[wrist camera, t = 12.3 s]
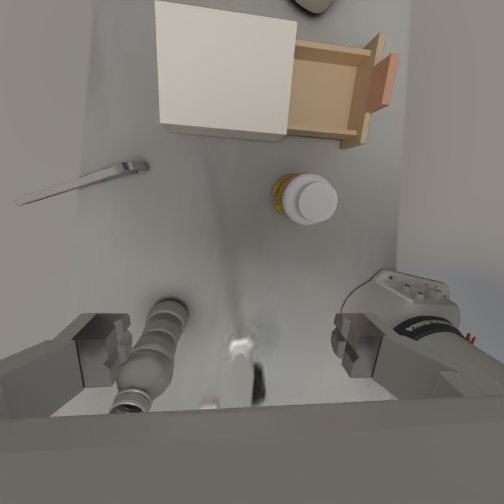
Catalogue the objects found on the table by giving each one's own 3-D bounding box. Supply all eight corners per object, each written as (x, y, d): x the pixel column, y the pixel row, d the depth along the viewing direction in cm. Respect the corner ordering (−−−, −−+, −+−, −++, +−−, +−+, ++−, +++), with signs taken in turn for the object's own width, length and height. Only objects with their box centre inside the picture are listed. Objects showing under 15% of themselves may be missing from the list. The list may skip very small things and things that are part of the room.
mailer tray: (360, 57, 34) (407, 13, 25) (345, 149, 38) (382, 139, 29) (249, 42, 32) (258, -12, 23) (244, 140, 36) (250, 126, 27)
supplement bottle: (282, 167, 38) (310, 160, 25) (316, 186, 39) (357, 188, 27) (263, 204, 39) (280, 215, 27) (296, 222, 40) (327, 239, 28)
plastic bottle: (152, 294, 41) (88, 391, 22) (190, 297, 42) (161, 391, 23) (152, 326, 43) (93, 440, 24) (189, 327, 44) (160, 438, 25)
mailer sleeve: (285, 49, 33) (297, 21, 27) (277, 141, 36) (286, 134, 31) (168, 33, 31) (154, 0, 25) (171, 132, 34) (160, 122, 29)
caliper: (147, 162, 36) (131, 158, 30) (150, 169, 36) (134, 167, 30) (16, 199, 35) (-27, 203, 29) (20, 206, 36) (-21, 211, 30)
